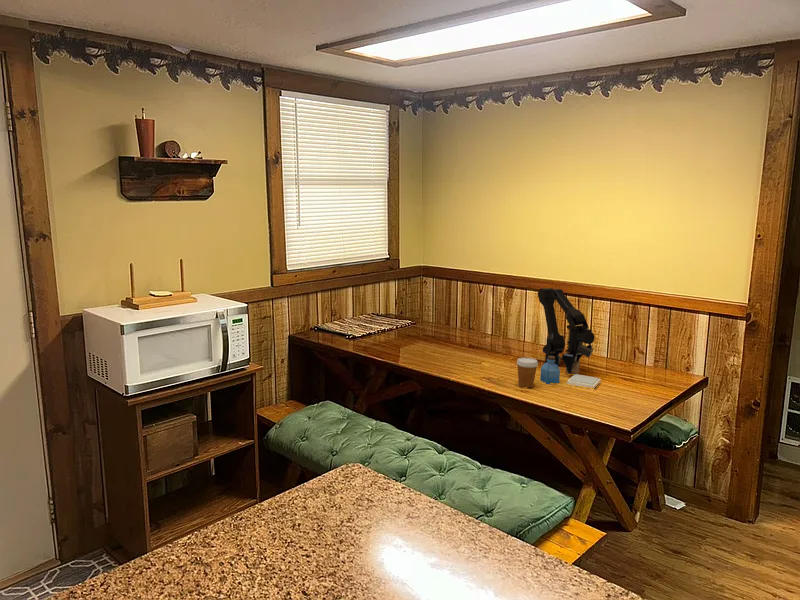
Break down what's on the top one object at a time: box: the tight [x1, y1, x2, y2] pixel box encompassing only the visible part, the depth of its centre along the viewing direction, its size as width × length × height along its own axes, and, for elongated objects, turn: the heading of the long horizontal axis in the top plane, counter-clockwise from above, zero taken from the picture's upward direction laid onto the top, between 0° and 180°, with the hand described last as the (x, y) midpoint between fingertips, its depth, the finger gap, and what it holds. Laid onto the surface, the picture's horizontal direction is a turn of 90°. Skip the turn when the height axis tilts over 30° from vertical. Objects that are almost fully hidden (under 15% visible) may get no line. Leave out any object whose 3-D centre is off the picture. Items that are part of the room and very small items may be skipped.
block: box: [565, 360, 581, 375], centre depth 297 cm, size 5×5×6 cm
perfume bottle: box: [539, 356, 561, 385], centre depth 283 cm, size 6×6×12 cm
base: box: [566, 374, 602, 389], centre depth 282 cm, size 12×12×2 cm
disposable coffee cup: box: [516, 357, 539, 388], centre depth 276 cm, size 10×10×12 cm
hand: (572, 370), depth 297 cm, fingers open, 9 cm apart
